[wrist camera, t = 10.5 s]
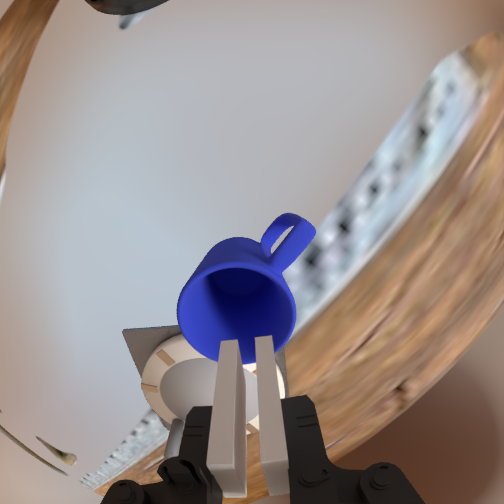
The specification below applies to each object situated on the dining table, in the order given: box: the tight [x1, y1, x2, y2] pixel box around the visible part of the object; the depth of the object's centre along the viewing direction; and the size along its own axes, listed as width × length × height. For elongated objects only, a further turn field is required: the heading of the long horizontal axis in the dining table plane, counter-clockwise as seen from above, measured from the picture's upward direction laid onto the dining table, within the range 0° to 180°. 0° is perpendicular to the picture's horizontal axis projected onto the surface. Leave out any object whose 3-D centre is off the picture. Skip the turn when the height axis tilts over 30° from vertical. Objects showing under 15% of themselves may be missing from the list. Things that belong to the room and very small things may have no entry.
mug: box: [177, 213, 316, 365], centre depth 24 cm, size 8×12×10 cm
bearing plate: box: [122, 325, 289, 430], centre depth 32 cm, size 18×18×3 cm
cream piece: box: [141, 334, 285, 459], centre depth 29 cm, size 17×17×8 cm
